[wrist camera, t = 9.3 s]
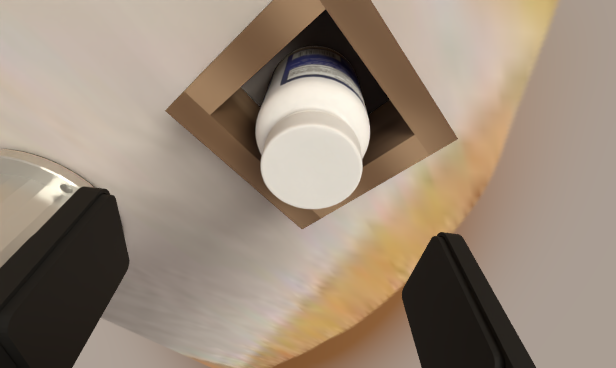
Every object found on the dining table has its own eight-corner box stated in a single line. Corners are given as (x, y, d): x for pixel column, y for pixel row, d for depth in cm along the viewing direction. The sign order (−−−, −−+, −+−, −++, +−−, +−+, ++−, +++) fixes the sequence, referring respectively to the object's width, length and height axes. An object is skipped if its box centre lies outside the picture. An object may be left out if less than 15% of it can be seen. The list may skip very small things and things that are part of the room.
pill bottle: (319, 143, 22) (317, 239, 14) (255, 94, 20) (216, 178, 13) (377, 84, 19) (409, 166, 12) (309, 21, 17) (299, 75, 10)
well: (305, 181, 23) (301, 229, 19) (198, 76, 19) (165, 110, 15) (429, 99, 19) (457, 138, 15) (330, -58, 15) (333, -60, 11)
